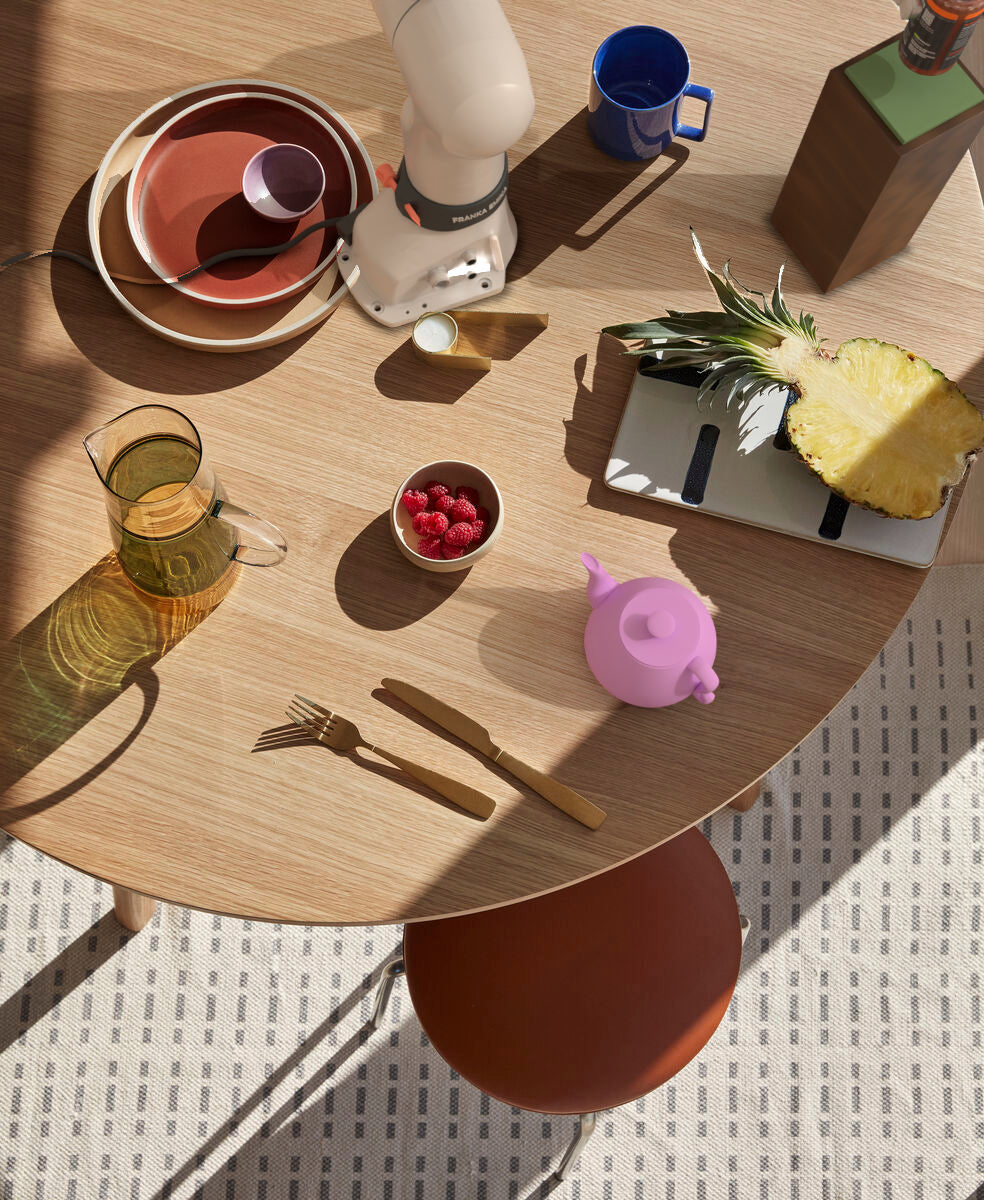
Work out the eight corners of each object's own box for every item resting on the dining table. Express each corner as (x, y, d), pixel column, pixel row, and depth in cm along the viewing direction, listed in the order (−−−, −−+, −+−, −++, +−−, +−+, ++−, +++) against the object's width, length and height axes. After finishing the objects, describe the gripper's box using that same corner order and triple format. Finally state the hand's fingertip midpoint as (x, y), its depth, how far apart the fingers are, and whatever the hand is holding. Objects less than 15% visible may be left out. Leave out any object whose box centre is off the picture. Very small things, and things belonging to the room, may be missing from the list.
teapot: (531, 626, 124) (535, 598, 112) (617, 541, 126) (630, 504, 114) (662, 752, 120) (680, 736, 108) (748, 661, 123) (776, 637, 111)
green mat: (902, 145, 109) (904, 141, 109) (843, 72, 112) (845, 68, 111) (983, 100, 111) (986, 96, 110) (923, 29, 113) (925, 25, 112)
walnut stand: (824, 294, 134) (900, 157, 109) (768, 219, 137) (829, 69, 112) (904, 249, 136) (997, 103, 110) (847, 176, 138) (925, 18, 113)
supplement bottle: (965, 41, 108) (1019, -54, 97) (944, 88, 107) (996, -3, 96) (908, 19, 109) (954, -78, 98) (886, 65, 107) (931, -28, 96)
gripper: (836, -136, 102) (850, -12, 98) (1057, -138, 102) (1078, -14, 98) (817, -78, 108) (829, 40, 105) (1025, -81, 108) (1044, 38, 105)
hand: (952, 14), depth 102 cm, fingers closed on supplement bottle, 6 cm apart
